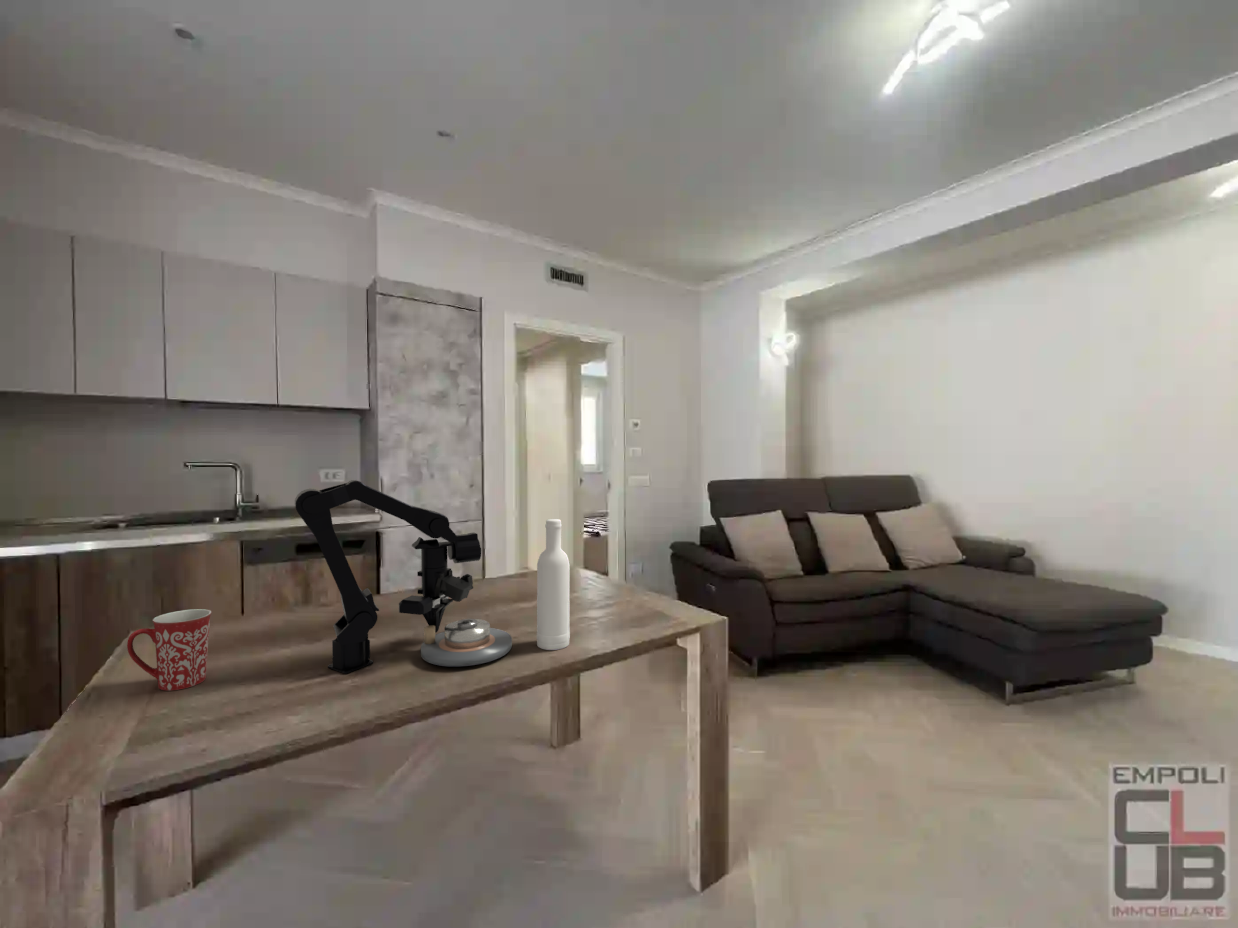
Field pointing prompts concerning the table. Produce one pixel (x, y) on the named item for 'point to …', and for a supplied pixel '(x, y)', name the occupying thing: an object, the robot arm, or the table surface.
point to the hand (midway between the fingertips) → (435, 631)
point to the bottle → (553, 591)
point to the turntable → (445, 656)
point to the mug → (177, 648)
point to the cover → (467, 634)
